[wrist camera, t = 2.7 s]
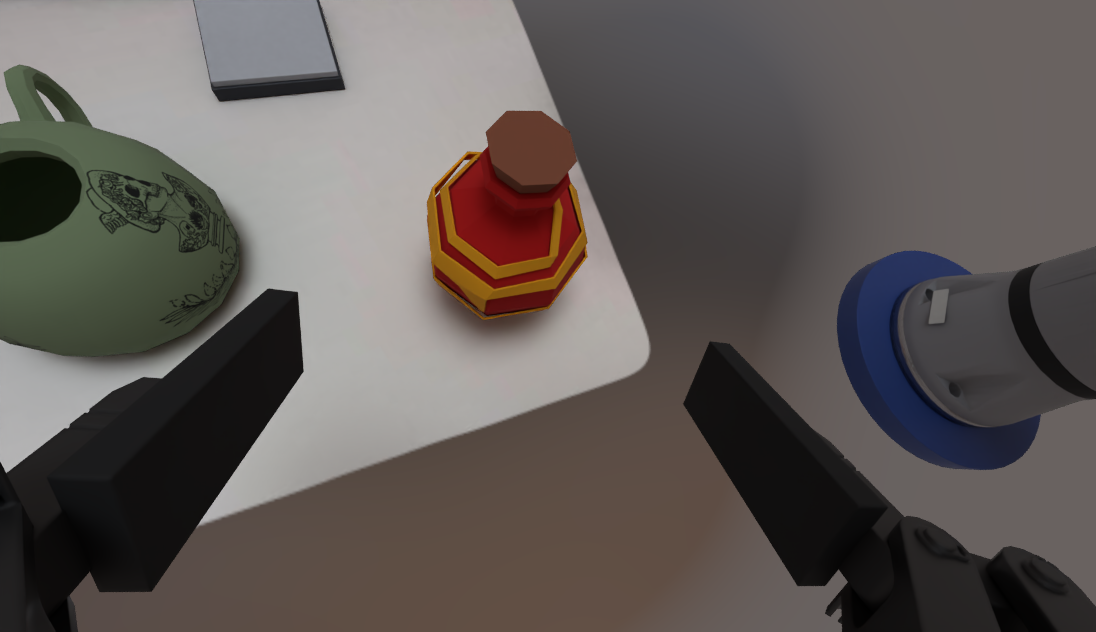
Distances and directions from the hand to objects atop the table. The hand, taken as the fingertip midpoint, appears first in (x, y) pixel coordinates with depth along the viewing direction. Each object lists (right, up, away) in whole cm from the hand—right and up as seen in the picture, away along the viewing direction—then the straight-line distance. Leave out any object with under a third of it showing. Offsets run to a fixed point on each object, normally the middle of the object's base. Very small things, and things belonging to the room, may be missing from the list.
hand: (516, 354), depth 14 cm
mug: (-26, +6, +14) cm, 30 cm away
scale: (-21, +23, +20) cm, 37 cm away
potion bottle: (-3, +4, +19) cm, 20 cm away
